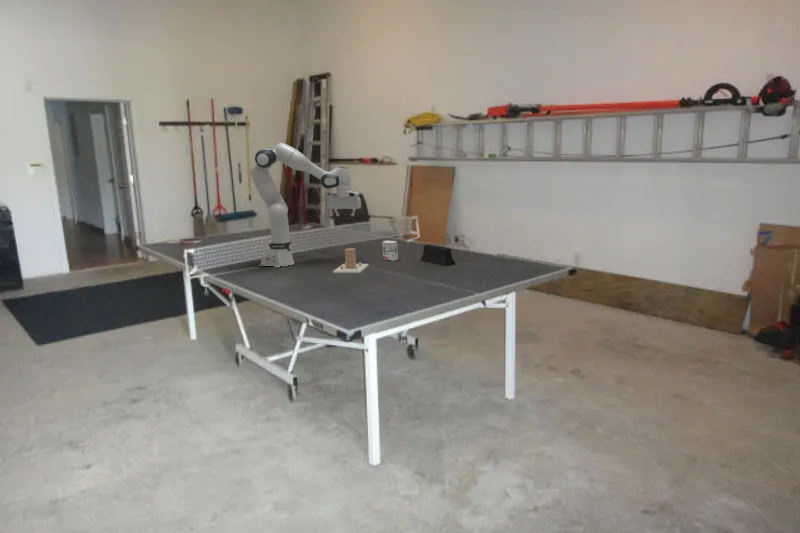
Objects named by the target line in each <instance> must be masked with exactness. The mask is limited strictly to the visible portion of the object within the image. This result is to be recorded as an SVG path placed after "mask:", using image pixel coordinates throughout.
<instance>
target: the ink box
mask: <svg viewBox="0 0 800 533" xmlns="http://www.w3.org/2000/svg"><path fill="white" fill-rule="evenodd" d="M381 244H382V248H381V249H382V260H383V261H387V260H391V261H390V262H396V261H398V260H399V252H398V247H399V246H398V241H396V240H383V241H381ZM395 260H396V261H395Z"/></svg>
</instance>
